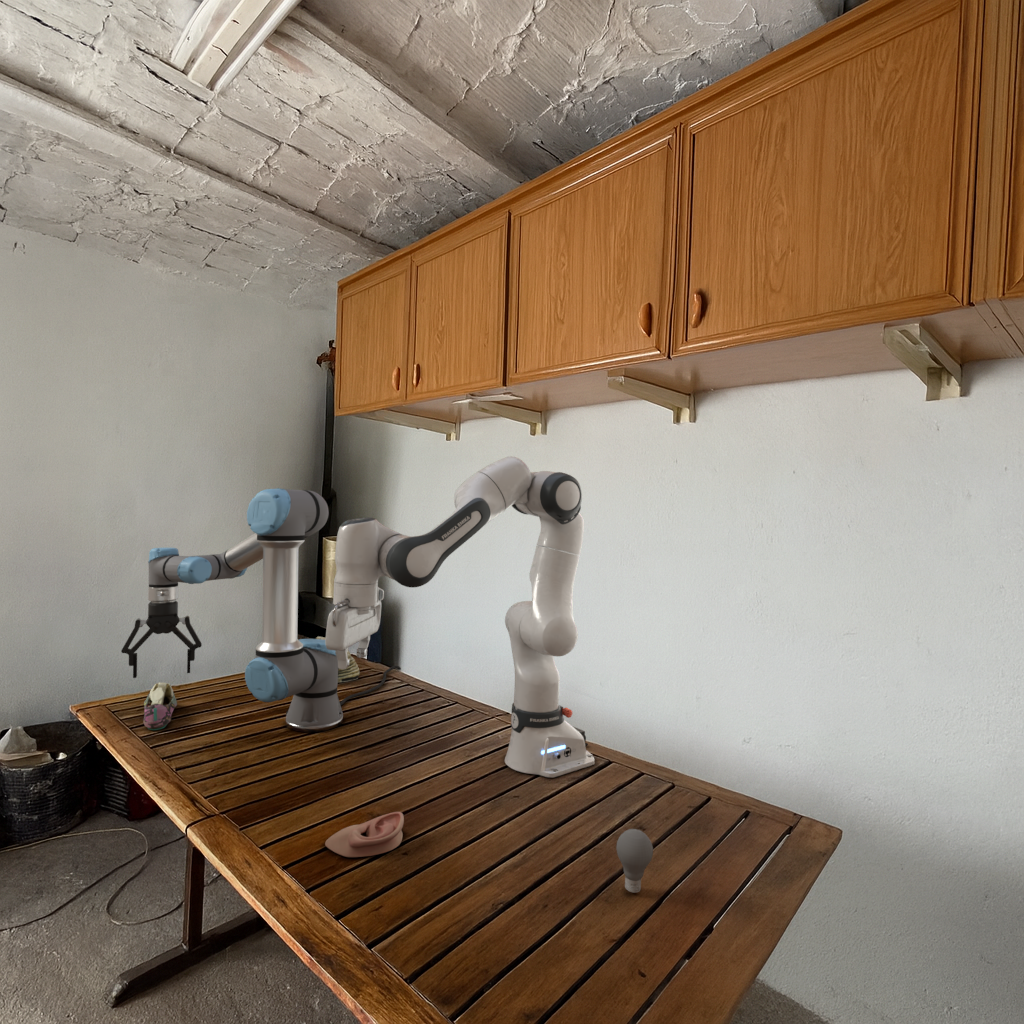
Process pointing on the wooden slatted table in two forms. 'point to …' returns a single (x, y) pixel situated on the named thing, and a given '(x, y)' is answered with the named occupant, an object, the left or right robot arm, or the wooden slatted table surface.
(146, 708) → the ballet flat
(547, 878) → the wooden slatted table surface
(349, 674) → the fossil
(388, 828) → the anatomical model
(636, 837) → the light bulb
